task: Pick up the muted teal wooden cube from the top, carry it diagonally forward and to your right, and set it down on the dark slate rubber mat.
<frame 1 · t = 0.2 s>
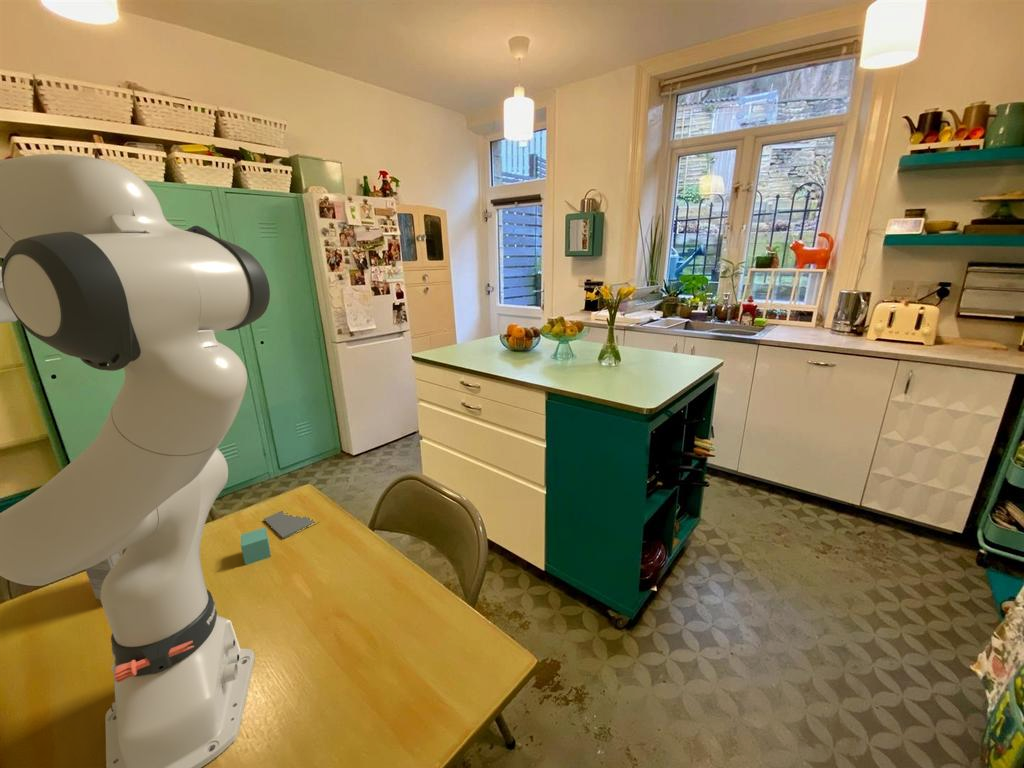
teal cube: (257, 555, 97), on the table
coffee box: (131, 585, 88), on the table
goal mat: (291, 521, 109), on the table
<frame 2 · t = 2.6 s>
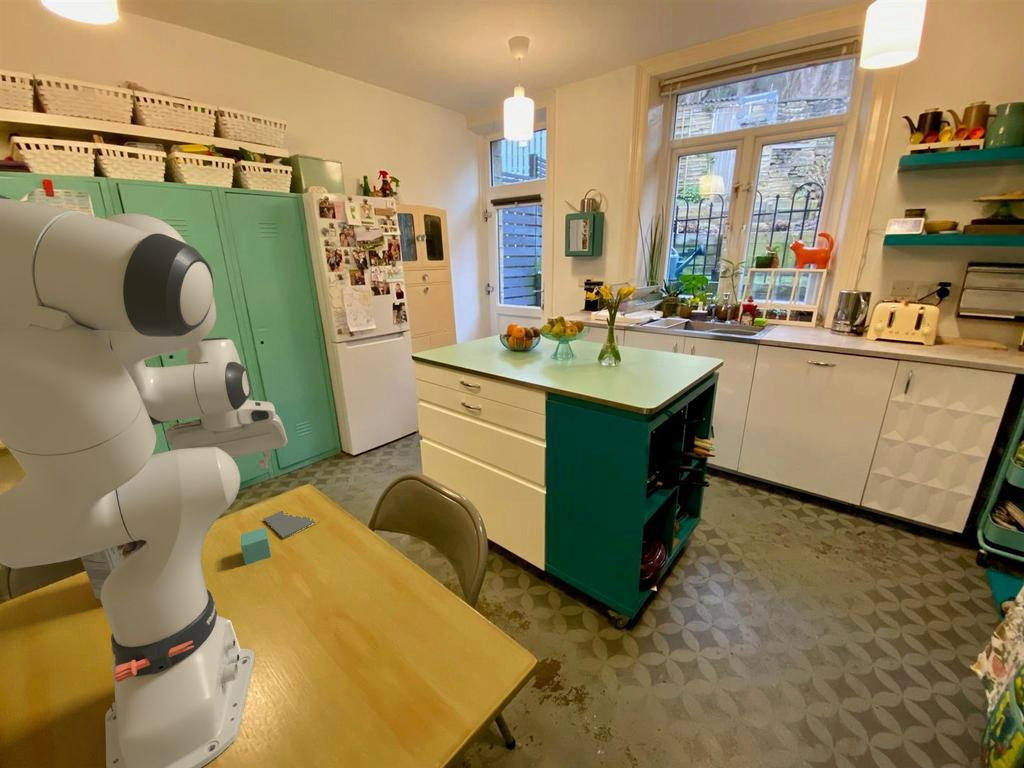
hand: (239, 474, 91), 21 cm above the table, tool pointing down, fingers open, 8 cm apart
nothing on the table moved.
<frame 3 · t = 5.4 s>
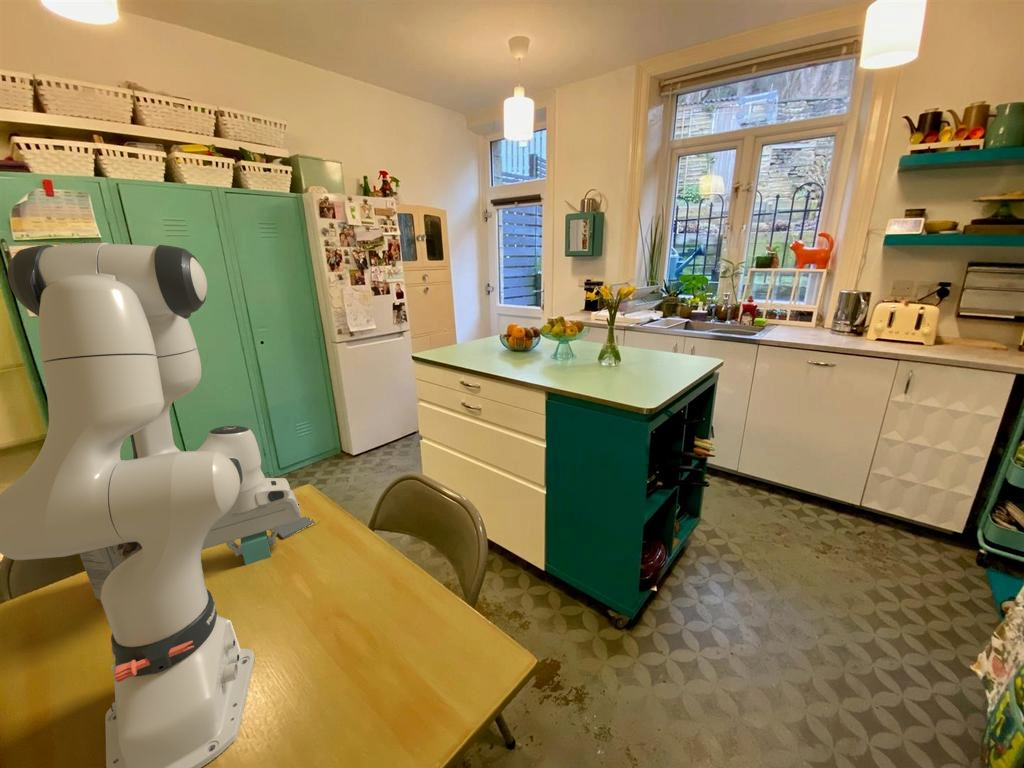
hand: (256, 548, 96), 2 cm above the table, tool pointing down, fingers closed on teal cube, 5 cm apart
teal cube: (257, 554, 97), on the table, touching gripper
everything else where it was.
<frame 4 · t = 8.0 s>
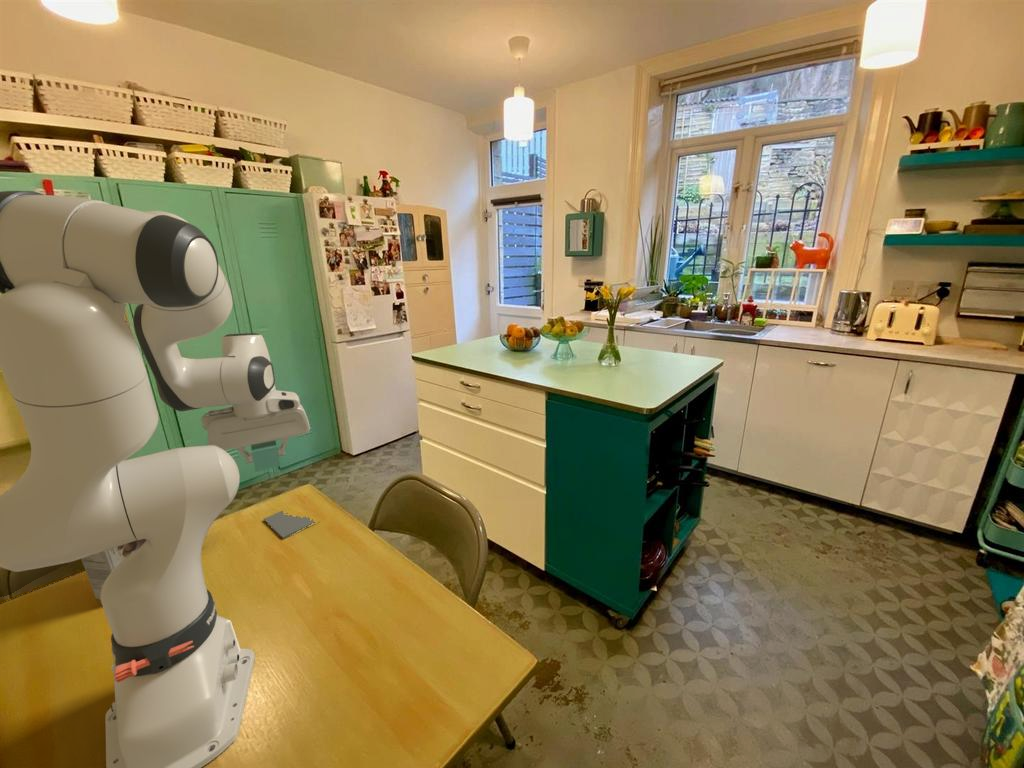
hand: (266, 458, 99), 20 cm above the table, tool pointing down, fingers closed on teal cube, 5 cm apart
teal cube: (267, 464, 100), point 19 cm above the table, touching gripper
everything else where it was.
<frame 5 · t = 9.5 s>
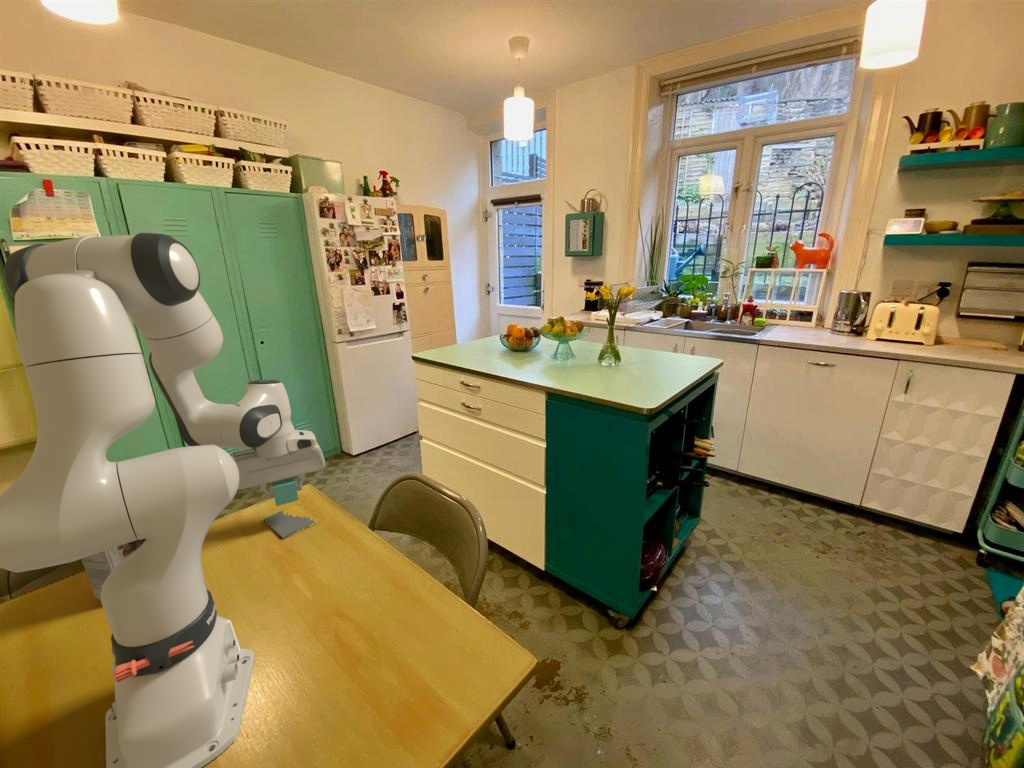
hand: (285, 493, 107), 8 cm above the table, tool pointing down, fingers closed on teal cube, 5 cm apart
teal cube: (286, 498, 107), point 7 cm above the table, touching gripper
everything else where it was.
when the fingers open (4 cm above the table, at t = 10.9 s): teal cube drops 1 cm, resting on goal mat.
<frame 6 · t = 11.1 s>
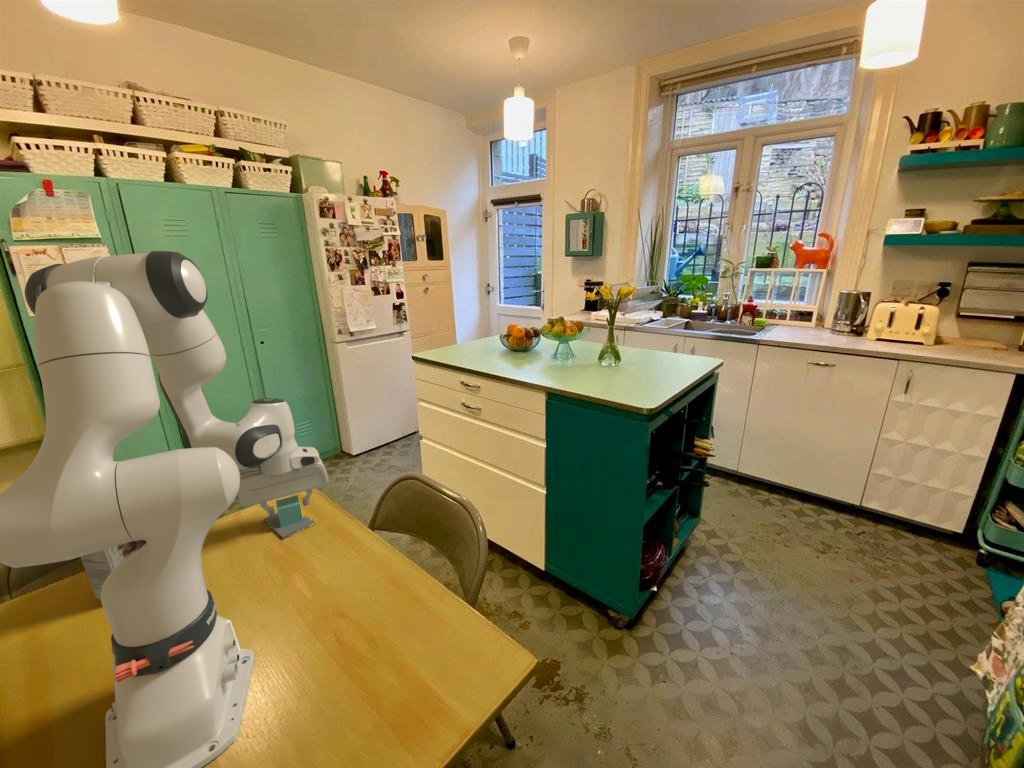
hand: (289, 509, 108), 4 cm above the table, tool pointing down, fingers open, 7 cm apart
teal cube: (291, 519, 109), point 1 cm above the table, touching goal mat
everything else where it was.
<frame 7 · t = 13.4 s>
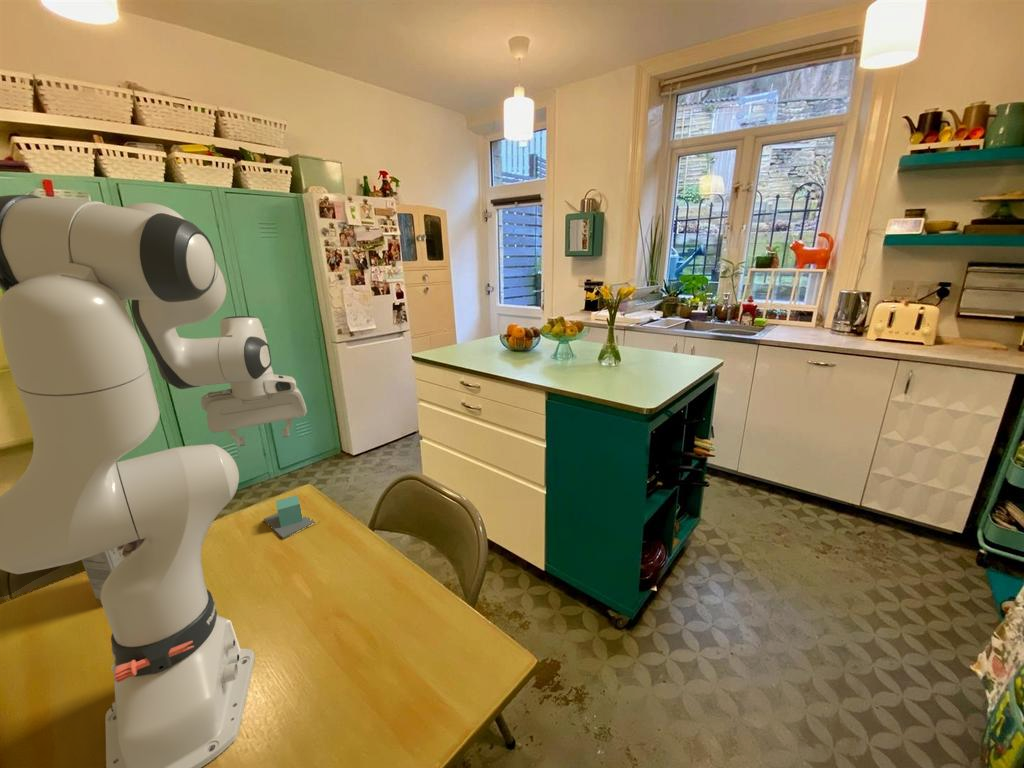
hand: (264, 440, 102), 23 cm above the table, tool pointing down, fingers open, 8 cm apart
nothing on the table moved.
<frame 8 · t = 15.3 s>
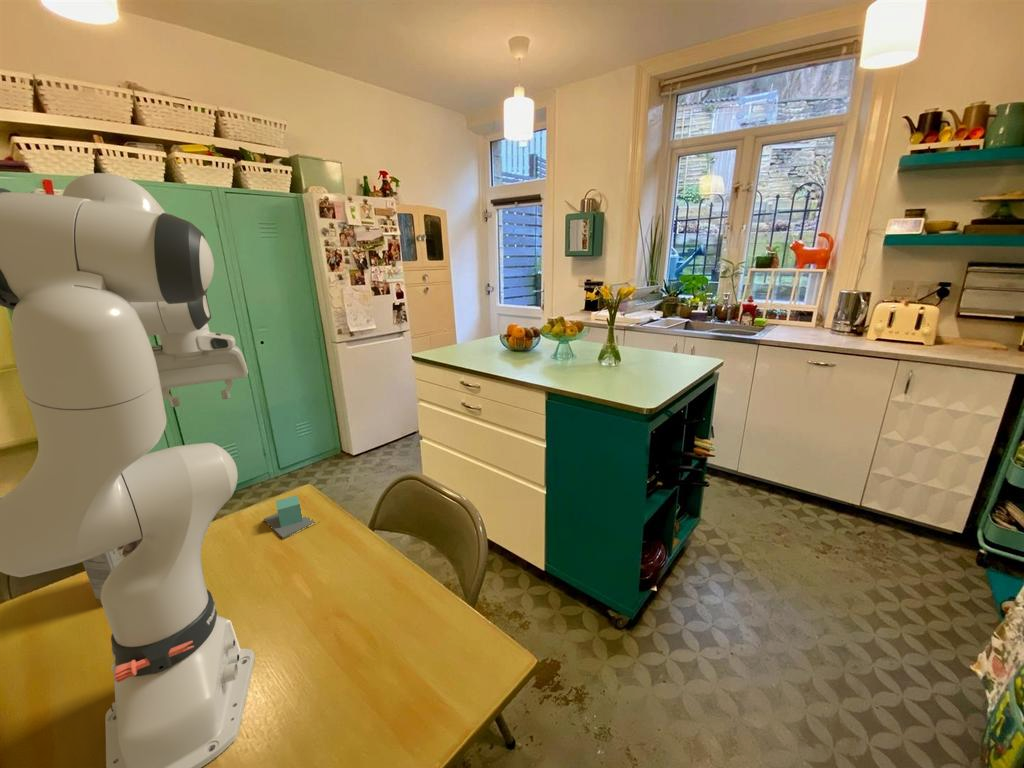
hand: (201, 402, 96), 34 cm above the table, tool pointing down, fingers open, 8 cm apart
nothing on the table moved.
at the end: teal cube inside the target area on the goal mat (0.1 cm from its centre), point 0.6 cm above the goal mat's base; teal cube tilted 0°; the gripper is holding nothing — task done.
